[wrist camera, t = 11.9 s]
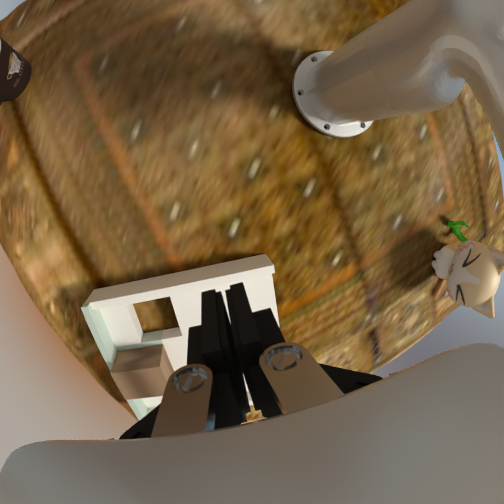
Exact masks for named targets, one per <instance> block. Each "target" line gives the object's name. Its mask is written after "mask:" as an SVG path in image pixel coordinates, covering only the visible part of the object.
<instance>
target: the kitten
mask: <svg viewBox="0 0 504 504" xmlns="http://www.w3.org/2000/svg"><path fill="white" fill-rule="evenodd" d="M461 225H465V226H466V227H468V228H469V226H468V225H467V223H466V222H464V221H458V222H454V221H452V222H450V221H449V222H448V225H447V226H449V227H452V233H455V235H456V236H457V238H458V239H459V240H460V241H462V242H464V243H462V244H461V245H460V246H459V248H458V247H457V246H454V245H446V246H444V247H443V248H442V249H441V250H440V251H436V252H435V253H434V257H435V258H436V260H433V261H432V263H431V264H432V267H433V268H434V269H435V272H436V275H437V276H438V277H439V278H441V279H443V280H447V292H448V295H449V297H450V298H451V299H452V300H453V301H454V302H455V303H457V304H460V305H462V306H465V307H471V308H473V309H474V310H476V311H478V312H480V313H482V314H483V315H485V316H487V317H489V318H494V316H495V315H494V298H493V296H494V294H495V293H496V291H497V288H498V286H499V282H500V274H501V273H502V272H503V271H504V252H502V251H500V250H498V249H496V248H494V247H486V246H485V245H483V244H481V243H479V242H477V241H472V240H470V241H469V240H467V239H466V238H465V237H464V236H463V234H462V232H461V230H460V228H459V227H458V226H461Z"/></svg>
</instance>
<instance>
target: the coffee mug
mask: <svg viewBox="0 0 504 504" xmlns="http://www.w3.org/2000/svg"><path fill="white" fill-rule="evenodd" d="M30 77H31V65H30V64H29V62H28V61H26V60H25V59H24V58H23V57H22V56H21V55H20V54H19V53H17V52H16V51H15V50H14V49H13V48H12V47H11V46H10V45H8V44H7V43H6V42H5V41H4V40H3V39H2V38H0V105H1V103H2V102H3V101H4V100H9V101H10V100H13V99H15V98H17V97H18V96H19V95H20V94H21V93H22V92H23V91H24V90H25V88H26V86H27V85H28V83H29V80H30Z"/></svg>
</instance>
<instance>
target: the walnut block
mask: <svg viewBox="0 0 504 504" xmlns="http://www.w3.org/2000/svg"><path fill="white" fill-rule="evenodd" d="M173 372H174V370H173V367H172V365H171V363H170V360H169V358H168V355H167V353H166V350H165V348H164V345H163V344H160V345H154V346H148V347H142V348H135V349H129V350H122V351H118V352H117V354H116V357H115V360H114V363H113V366H112V369H111V372H110V374H111V376H112V378H113V379H114V381H115V383H116V385H117V387H118V388H119V390H120V392H121V393H122V395H123V397H124V398H125V400H130V399H140V398H149V397H158V396H163V394H164V391H165V387H166V384H167V381H168V379H169V377H170V375H171V374H172V373H173Z"/></svg>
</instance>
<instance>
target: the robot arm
mask: <svg viewBox="0 0 504 504" xmlns="http://www.w3.org/2000/svg"><path fill="white" fill-rule="evenodd" d="M311 60H312V61H313V62H312V61H311ZM465 81H466V82H467V83H468V84H469V86H470V87H471V89H472V91H473V92H474V94H475V96H476V98H477V100H478V102H479V103H480V104H481V106H482V108H483V110H484V112H485V114H486V116H487V119H488V121H489V123H490V125H491V128H492V130H493V133H494V135H495V137H496V140H497V143H498V145H499V148H500V151H501V153H502V156H503V159H504V0H410V1H409V2H407V3H406V4H404V5H403V6H401V7H400V8H398V9H397V10H395V11H394V12H392V13H391V14H389V15H388V16H386V17H384V18H383V19H381V20H380V21H378V22H376V23H375V24H374V25H372V26H370V27H369V28H367V29H366V30H364V31H363V32H361V33H360V34H358V35H357V36H355V37H354V38H352V39H351V40H349V41H348V42H347V43H345V44H344V45H342V46H341V47H340V48H338V49H337V50H335V51H320V52H316V53H314V54H312V55H310V56H308V57H307V58H305V59H304V60H303V61H302V62H301V63H300V64H299V65H298V67H297V69H296V71H295V73H294V76H293V80H292V92H293V98H294V101H295V104H296V106H297V108H298V110H299V112H300V113H301V115H302V116H303V117H304V119H305V120H306V121H307V122H308V123H309V124H310V125H311V126H312V127H314V128H315V129H317V130H318V131H320V132H322V133H324V134H326V135H328V136H333V137H339V138H345V137H352V136H356V135H359V134H360V133H362V132H364V131H365V130H366V129H367V128H369V127H370V125H371V124H372V122H373V121H374V120H379V119H385V118H391V117H397V116H403V115H410V114H417V113H424V112H431V111H437V110H440V109H443V108H445V107H447V106H448V105H450V104H451V103H452V102H453V101H454V100H455V99H456V98H457V96H458V95H459V94H460V92H461V90H462V88H463V86H464V84H465ZM298 92H299V93H300V95H299V94H298ZM360 125H361V126H360ZM324 126H325V127H326V129H325V128H324ZM225 293H226V299H227V305H228V311H229V317H230V320H229V317H228V313H227V310H226V306H225V303H224V300H223V296H222V293H221V291H219V292H216V290H215V289H212V290H208V291H204V292H201V325H198V326H193V327H189V330H188V347H187V365H186V366H183V367H181V368H179V369H177V370H176V371H174V372H173V373H172V374H171V375H170V377H169V379H168V381H167V384H166V387H165V391H164V394H163V397H162V400H161V403H160V404H159V405H158V406H157V407H155V408H154V409H153V410H152V411H151V412H149V413H148V414H147V415H146V416H144V417H143V418H142V419H141V420H140V421H138V422H137V423H136V424H135V425H133V426H132V427H131V428H130V429H128V430H127V431H126V432H125V433H124V434H123V435H122V436H121V437H120V438H119V440H115V439H114V438H112V439H108V440H49V441H41V442H35V443H32V444H28V445H25V446H22V447H20V448H18V449H16V450H15V451H13V452H12V453H11V454H10V455H9V457H8V458H7V460H6V462H5V464H4V465H3V467H2V470H1V472H0V504H504V347H502V346H499V345H496V344H492V343H478V344H471V345H466V346H461V347H458V348H454V349H452V350H448V351H445V352H443V353H440V354H438V355H436V356H433V357H431V358H428V359H426V360H424V361H422V362H420V363H418V364H416V365H413V366H411V367H409V368H407V369H404V370H402V371H400V372H397V373H392V374H389V377H387V378H384V379H383V378H381V377H379V376H376V375H372V374H367V373H362V372H356V371H352V370H347V369H342V368H337V367H333V366H328V365H324V364H320V363H317V361H316V360H315V359H314V358H313V357H312V356H311V354H310V353H309V352H308V351H307V350H306V348H304V347H303V346H302V345H300V344H297V343H293V342H285V340H284V337H283V335H282V333H281V331H280V328H279V326H278V324H277V321H276V319H275V317H274V315H273V312H272V310H271V308H267V309H263V310H259V311H256V312H252V310H251V307H250V304H249V300H248V297H247V294H246V291H245V287H244V284H243V282H241V283H237V284H233V285H230V289H227V290H225ZM230 323H231V324H230ZM243 375H244V376H243ZM244 378H245V381H246V384H247V387H248V390H249V393H250V396H251V399H252V402H253V405H254V408H255V410H256V411H257V410H261V412H262V415H263V416H264V417H266V419H262V420H258V421H254V422H249V423H245V424H241V423H243V422H247V419H246V414H245V413H248V412H251V410H250V405H249V400H248V395H247V391H246V386H245V381H244Z"/></svg>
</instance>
